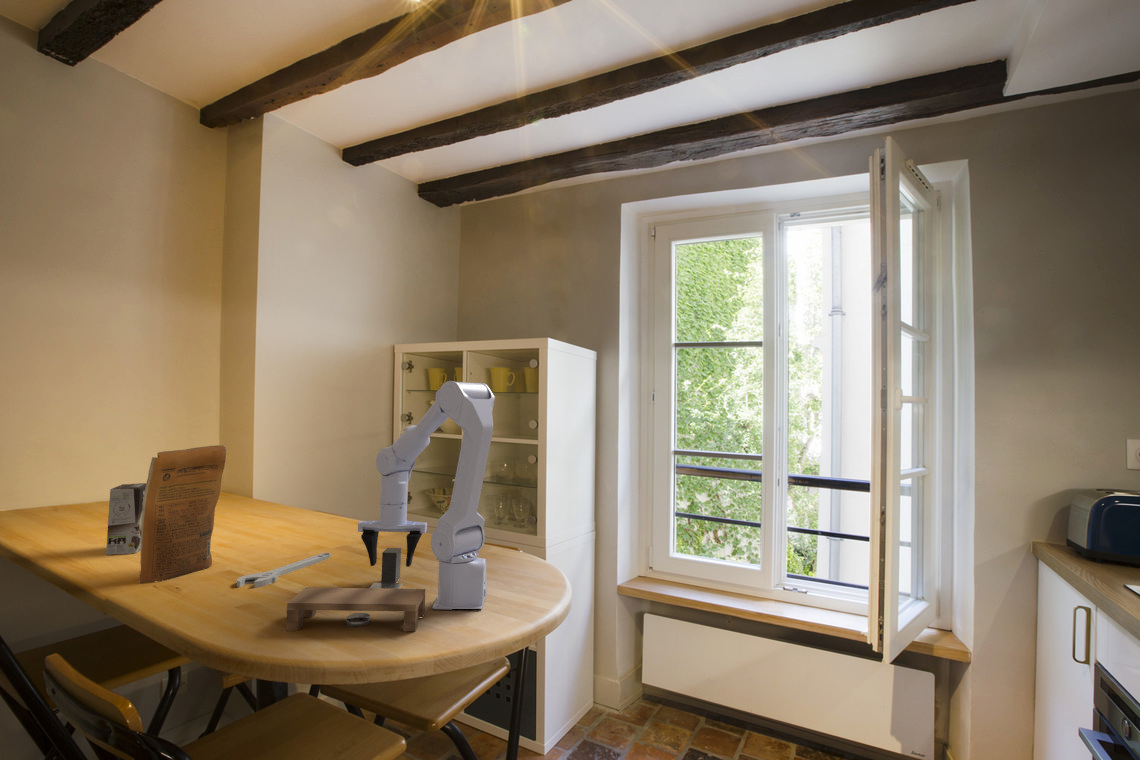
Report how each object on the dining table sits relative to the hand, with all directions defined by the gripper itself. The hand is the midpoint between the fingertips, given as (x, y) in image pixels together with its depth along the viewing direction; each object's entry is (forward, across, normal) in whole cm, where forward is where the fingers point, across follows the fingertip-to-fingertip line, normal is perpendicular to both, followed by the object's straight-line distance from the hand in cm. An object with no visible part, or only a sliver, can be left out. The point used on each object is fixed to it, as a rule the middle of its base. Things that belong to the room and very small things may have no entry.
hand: (391, 565), depth 124 cm
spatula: (+4, 0, +7) cm, 8 cm away
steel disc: (+4, 0, +22) cm, 22 cm away
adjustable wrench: (+4, +24, -6) cm, 25 cm away
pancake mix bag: (+4, +47, -4) cm, 47 cm away
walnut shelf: (+4, 0, +22) cm, 22 cm away
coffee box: (+4, +71, -22) cm, 74 cm away
